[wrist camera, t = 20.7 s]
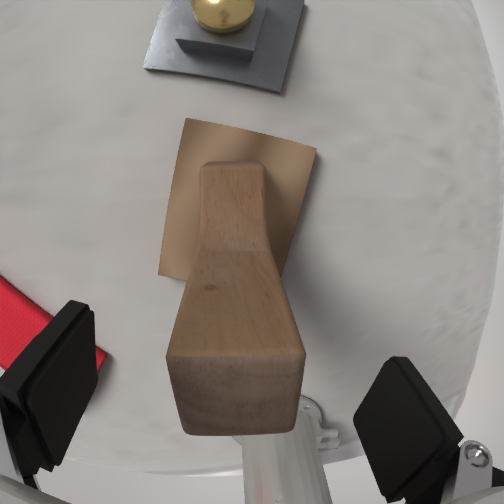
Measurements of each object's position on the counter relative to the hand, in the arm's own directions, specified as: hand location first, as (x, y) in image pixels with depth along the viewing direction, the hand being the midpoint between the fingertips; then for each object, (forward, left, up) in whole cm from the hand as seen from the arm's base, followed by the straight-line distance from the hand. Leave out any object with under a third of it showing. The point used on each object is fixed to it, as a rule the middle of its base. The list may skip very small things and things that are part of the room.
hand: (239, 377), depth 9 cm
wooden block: (0, -1, -19) cm, 19 cm away
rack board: (0, -1, -20) cm, 20 cm away
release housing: (+5, -17, -20) cm, 26 cm away
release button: (+5, -17, -15) cm, 23 cm away
